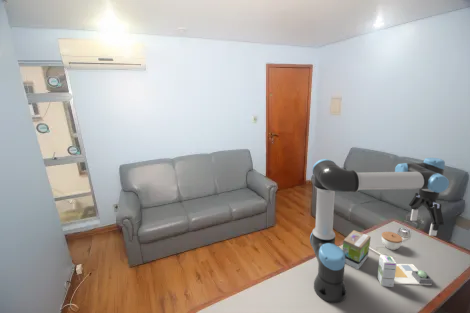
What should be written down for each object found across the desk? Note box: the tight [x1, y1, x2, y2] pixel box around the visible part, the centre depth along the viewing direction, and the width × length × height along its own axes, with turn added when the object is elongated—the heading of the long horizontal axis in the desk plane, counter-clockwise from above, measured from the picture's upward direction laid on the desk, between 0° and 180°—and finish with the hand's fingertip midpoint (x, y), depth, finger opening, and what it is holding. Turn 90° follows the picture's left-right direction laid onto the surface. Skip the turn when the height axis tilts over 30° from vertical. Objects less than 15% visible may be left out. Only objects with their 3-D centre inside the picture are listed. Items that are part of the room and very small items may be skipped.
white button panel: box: [394, 263, 433, 286], centre depth 119 cm, size 18×14×3 cm
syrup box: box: [376, 254, 398, 288], centre depth 113 cm, size 6×6×14 cm
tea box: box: [341, 229, 371, 270], centre depth 130 cm, size 15×10×15 cm, turn 131°
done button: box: [417, 269, 428, 278], centre depth 114 cm, size 4×4×3 cm
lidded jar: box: [381, 231, 403, 251], centre depth 140 cm, size 11×11×9 cm
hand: (422, 227), depth 113 cm, fingers open, 13 cm apart
